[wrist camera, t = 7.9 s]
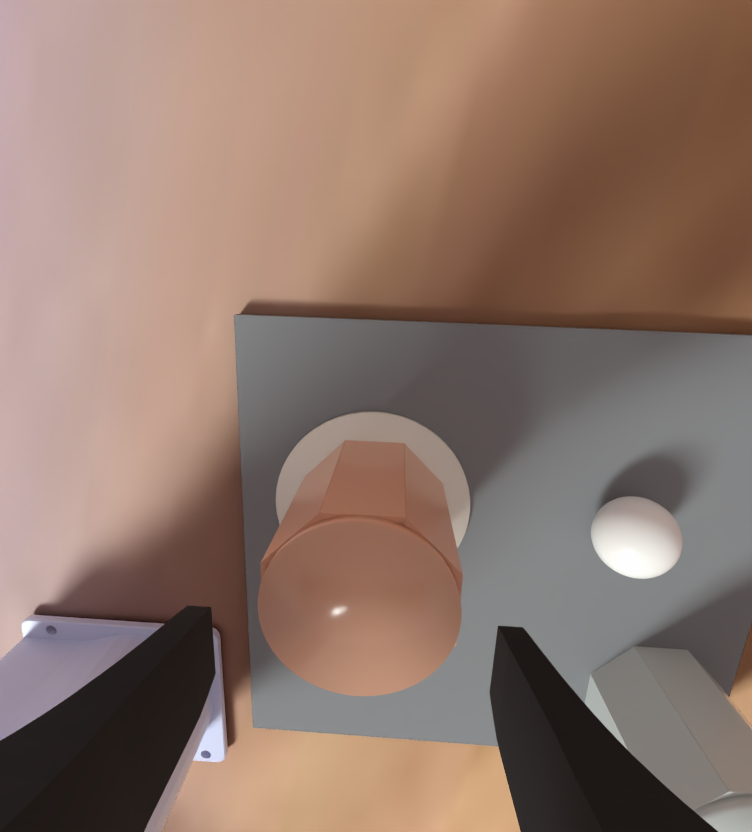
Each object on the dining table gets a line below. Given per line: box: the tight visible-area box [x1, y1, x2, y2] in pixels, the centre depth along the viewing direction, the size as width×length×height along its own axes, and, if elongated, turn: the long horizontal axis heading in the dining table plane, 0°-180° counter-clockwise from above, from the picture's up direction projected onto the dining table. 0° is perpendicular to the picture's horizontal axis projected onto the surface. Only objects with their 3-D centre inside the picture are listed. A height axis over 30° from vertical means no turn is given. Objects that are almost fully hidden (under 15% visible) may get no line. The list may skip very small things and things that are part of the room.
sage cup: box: [585, 646, 752, 832], centre depth 18 cm, size 6×6×6 cm
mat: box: [234, 314, 752, 746], centre depth 20 cm, size 22×20×1 cm
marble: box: [591, 496, 683, 579], centre depth 17 cm, size 3×3×3 cm
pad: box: [276, 411, 470, 548], centre depth 19 cm, size 8×8×1 cm
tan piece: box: [258, 440, 463, 696], centre depth 16 cm, size 6×6×6 cm
